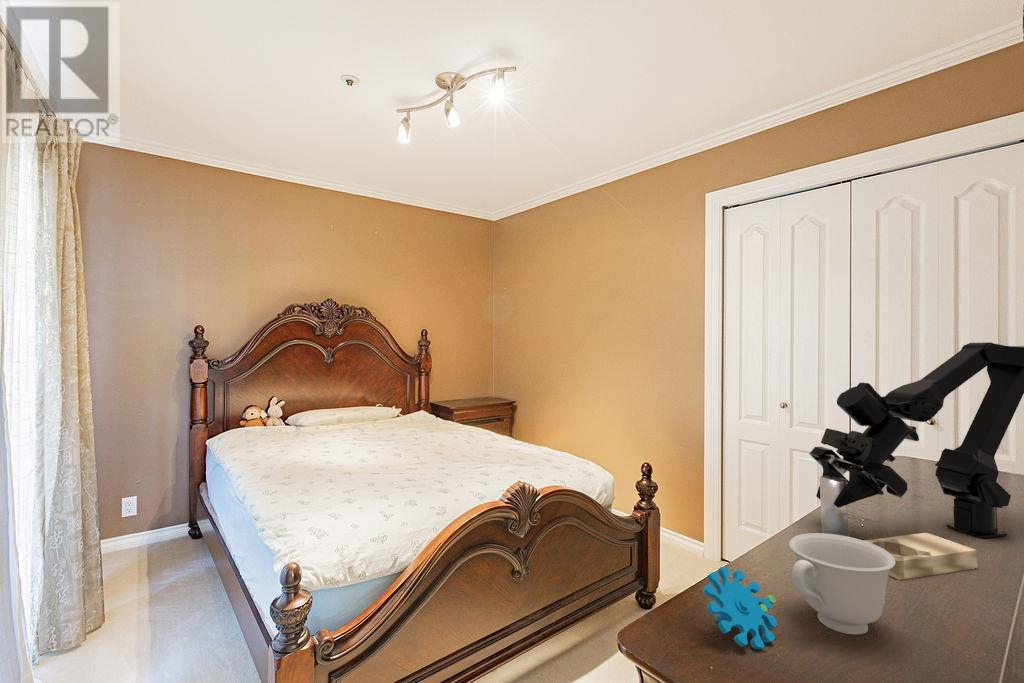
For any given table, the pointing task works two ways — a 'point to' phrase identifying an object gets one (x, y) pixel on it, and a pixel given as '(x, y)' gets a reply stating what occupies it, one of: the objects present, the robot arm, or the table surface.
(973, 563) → the jig
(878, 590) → the teacup
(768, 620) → the gear
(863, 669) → the table surface
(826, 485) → the translucent cylinder
